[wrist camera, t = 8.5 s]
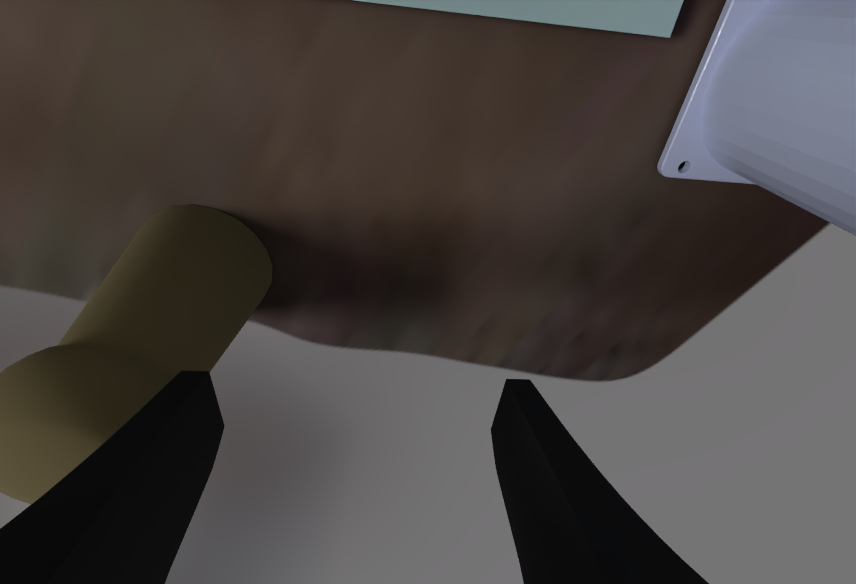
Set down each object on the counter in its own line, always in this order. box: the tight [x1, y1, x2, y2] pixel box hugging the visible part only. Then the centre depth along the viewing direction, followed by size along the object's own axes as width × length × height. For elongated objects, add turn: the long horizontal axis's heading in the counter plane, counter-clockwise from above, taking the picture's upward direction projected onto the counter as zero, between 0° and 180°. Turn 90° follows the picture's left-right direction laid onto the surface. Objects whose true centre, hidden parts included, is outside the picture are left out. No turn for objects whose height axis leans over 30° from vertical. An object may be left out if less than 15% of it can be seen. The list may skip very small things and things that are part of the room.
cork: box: [0, 204, 273, 504], centre depth 15 cm, size 6×6×11 cm
